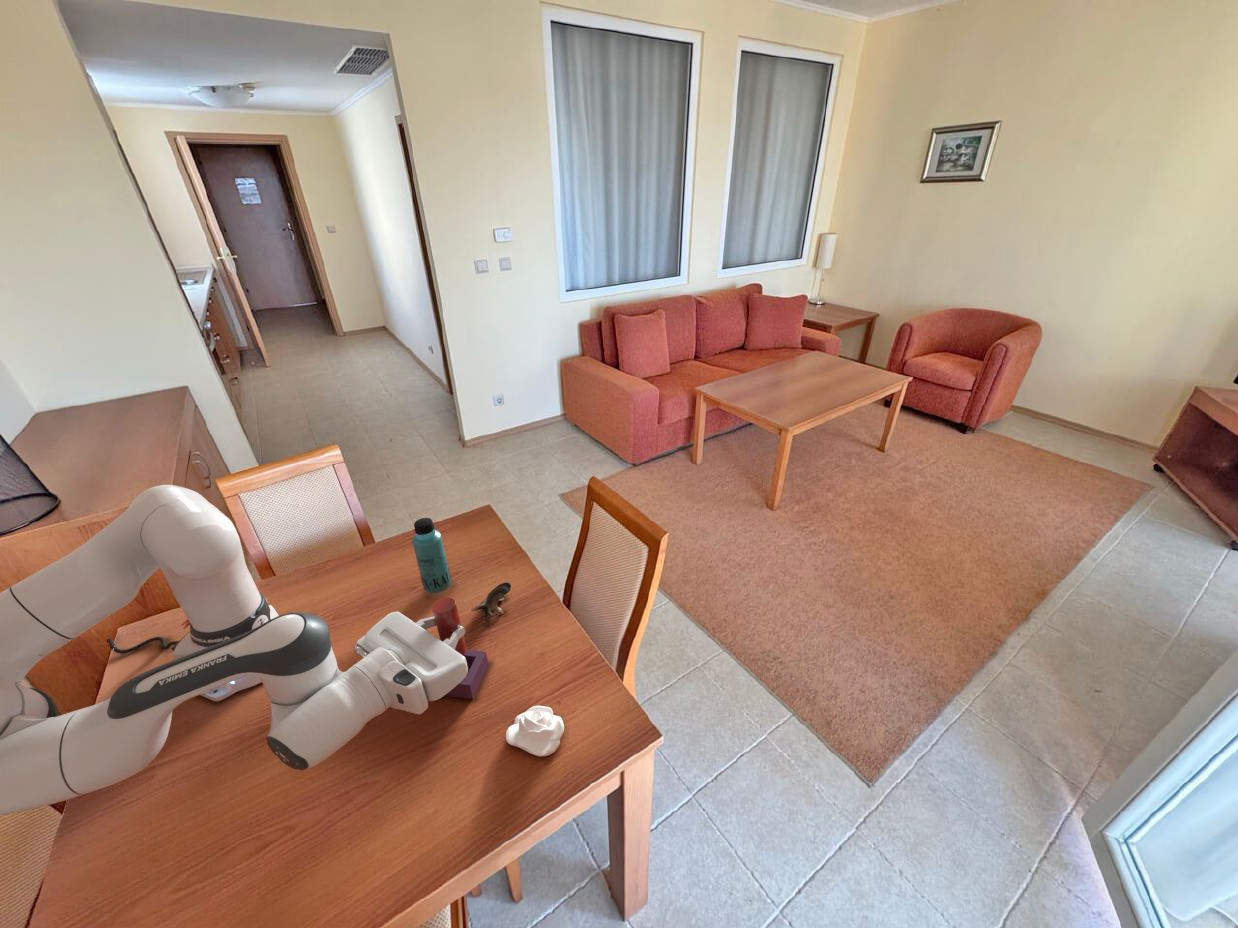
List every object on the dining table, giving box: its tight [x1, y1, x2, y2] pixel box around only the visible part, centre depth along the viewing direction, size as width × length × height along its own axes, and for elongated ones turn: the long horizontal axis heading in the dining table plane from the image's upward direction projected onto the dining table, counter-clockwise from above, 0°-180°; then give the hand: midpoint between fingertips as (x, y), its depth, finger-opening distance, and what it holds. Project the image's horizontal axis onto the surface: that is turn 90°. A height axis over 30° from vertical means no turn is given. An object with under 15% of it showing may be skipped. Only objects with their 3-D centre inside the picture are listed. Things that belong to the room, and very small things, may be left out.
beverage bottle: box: [411, 517, 452, 594], centre depth 115 cm, size 6×7×20 cm
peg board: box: [445, 648, 489, 700], centre depth 97 cm, size 20×8×4 cm, turn 81°
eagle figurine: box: [470, 581, 512, 626], centre depth 112 cm, size 8×7×9 cm
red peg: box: [431, 596, 467, 655], centre depth 91 cm, size 4×4×12 cm
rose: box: [505, 705, 565, 757], centre depth 86 cm, size 10×4×10 cm
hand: (452, 622), depth 91 cm, fingers closed on red peg, 4 cm apart
